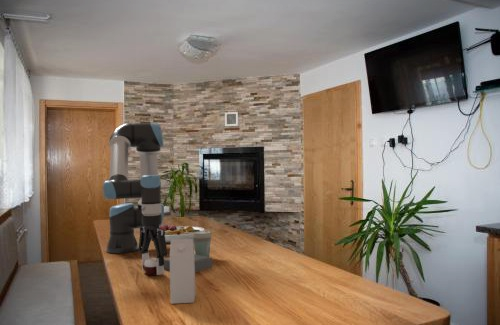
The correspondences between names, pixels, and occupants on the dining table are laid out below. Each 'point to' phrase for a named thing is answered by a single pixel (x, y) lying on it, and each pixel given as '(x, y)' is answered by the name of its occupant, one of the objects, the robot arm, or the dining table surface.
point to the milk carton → (182, 271)
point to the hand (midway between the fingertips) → (153, 271)
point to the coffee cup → (202, 242)
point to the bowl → (179, 232)
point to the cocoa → (150, 266)
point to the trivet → (200, 263)
